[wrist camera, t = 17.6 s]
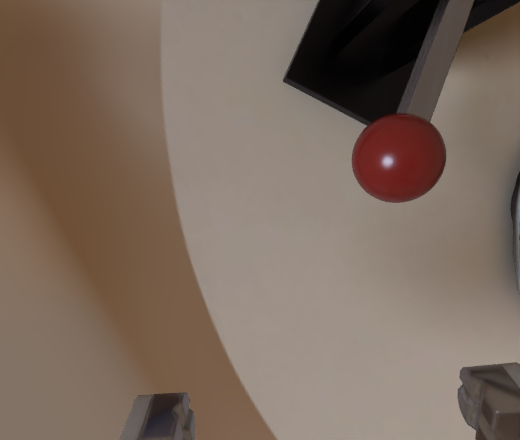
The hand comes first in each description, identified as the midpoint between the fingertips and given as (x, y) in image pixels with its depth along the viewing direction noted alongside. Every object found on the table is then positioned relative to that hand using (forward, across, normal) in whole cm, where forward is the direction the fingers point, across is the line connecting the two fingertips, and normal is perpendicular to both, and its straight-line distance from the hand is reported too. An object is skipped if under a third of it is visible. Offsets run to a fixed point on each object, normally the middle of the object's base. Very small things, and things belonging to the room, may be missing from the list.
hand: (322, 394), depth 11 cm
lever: (+11, -6, -8) cm, 15 cm away
